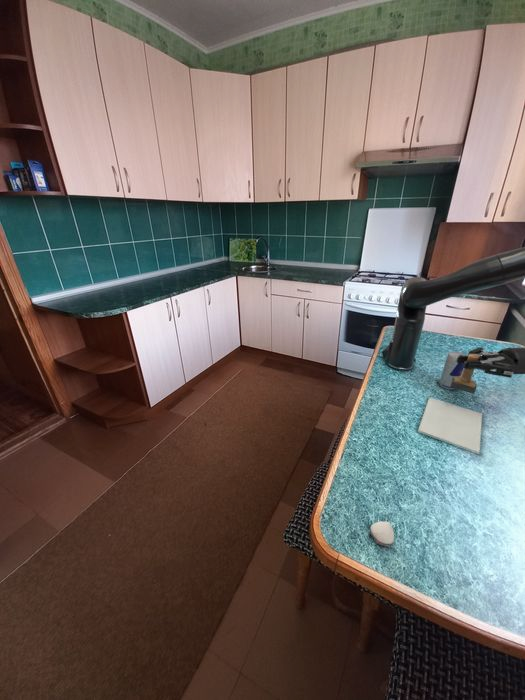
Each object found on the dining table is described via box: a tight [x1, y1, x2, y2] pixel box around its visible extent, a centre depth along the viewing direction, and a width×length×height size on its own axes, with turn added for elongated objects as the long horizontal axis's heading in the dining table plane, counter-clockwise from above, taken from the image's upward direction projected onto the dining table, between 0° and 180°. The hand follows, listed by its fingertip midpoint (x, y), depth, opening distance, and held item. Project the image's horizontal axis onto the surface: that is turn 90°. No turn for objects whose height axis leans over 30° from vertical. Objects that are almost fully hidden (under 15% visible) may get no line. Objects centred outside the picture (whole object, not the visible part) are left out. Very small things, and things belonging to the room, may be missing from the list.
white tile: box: [417, 397, 483, 455], centre depth 83 cm, size 14×18×1 cm
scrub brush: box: [450, 354, 479, 395], centre depth 83 cm, size 6×3×11 cm, turn 54°
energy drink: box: [438, 350, 467, 391], centre depth 97 cm, size 5×5×12 cm
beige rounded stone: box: [369, 521, 395, 548], centre depth 55 cm, size 4×5×2 cm
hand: (461, 362), depth 81 cm, fingers closed on scrub brush, 2 cm apart
